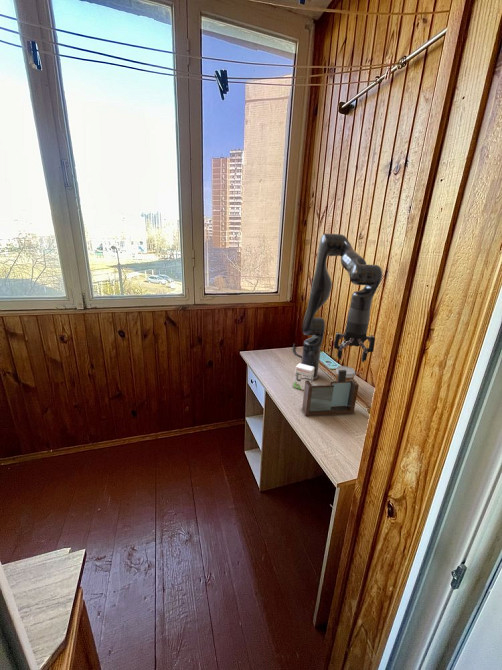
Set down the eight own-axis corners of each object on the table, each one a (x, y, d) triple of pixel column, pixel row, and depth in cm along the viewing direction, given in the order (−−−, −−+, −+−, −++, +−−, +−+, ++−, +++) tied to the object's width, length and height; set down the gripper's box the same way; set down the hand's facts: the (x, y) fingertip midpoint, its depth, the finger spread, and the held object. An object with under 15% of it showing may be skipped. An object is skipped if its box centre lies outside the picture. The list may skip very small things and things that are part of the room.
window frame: (302, 409, 131) (305, 380, 126) (348, 407, 134) (353, 378, 129) (305, 416, 126) (309, 386, 121) (353, 413, 129) (358, 384, 124)
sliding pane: (326, 405, 131) (331, 370, 125) (346, 404, 132) (352, 369, 126) (327, 407, 130) (332, 371, 124) (347, 406, 131) (353, 371, 125)
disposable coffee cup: (355, 391, 147) (359, 370, 143) (345, 398, 140) (349, 376, 136) (339, 384, 153) (342, 363, 149) (328, 390, 147) (331, 369, 143)
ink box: (293, 387, 149) (295, 366, 145) (296, 383, 153) (298, 362, 149) (309, 392, 145) (311, 370, 141) (312, 387, 149) (315, 366, 145)
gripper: (376, 318, 110) (368, 357, 116) (337, 315, 112) (331, 354, 118) (380, 324, 103) (372, 366, 109) (339, 321, 105) (333, 362, 111)
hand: (351, 359), depth 113 cm, fingers open, 8 cm apart
